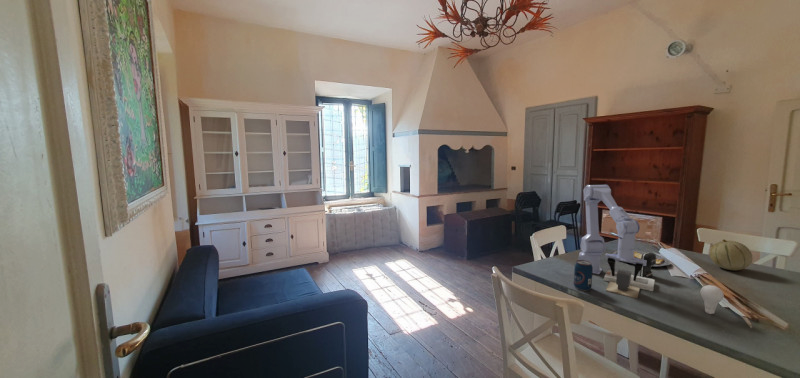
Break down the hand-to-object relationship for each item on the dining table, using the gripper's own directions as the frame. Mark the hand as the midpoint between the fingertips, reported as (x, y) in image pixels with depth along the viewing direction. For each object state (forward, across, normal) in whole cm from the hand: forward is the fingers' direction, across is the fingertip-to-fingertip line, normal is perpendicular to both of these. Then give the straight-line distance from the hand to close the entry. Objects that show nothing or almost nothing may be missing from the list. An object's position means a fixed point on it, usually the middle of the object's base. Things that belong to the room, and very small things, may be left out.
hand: (623, 277), depth 137 cm
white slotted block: (+6, +1, +11) cm, 13 cm away
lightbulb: (+6, +27, -4) cm, 28 cm away
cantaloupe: (+6, +37, +60) cm, 71 cm away
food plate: (+6, +2, +48) cm, 49 cm away
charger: (+5, 0, 0) cm, 5 cm away
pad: (+6, 0, 0) cm, 6 cm away
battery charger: (+6, +7, +24) cm, 26 cm away
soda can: (+6, -14, -9) cm, 17 cm away
